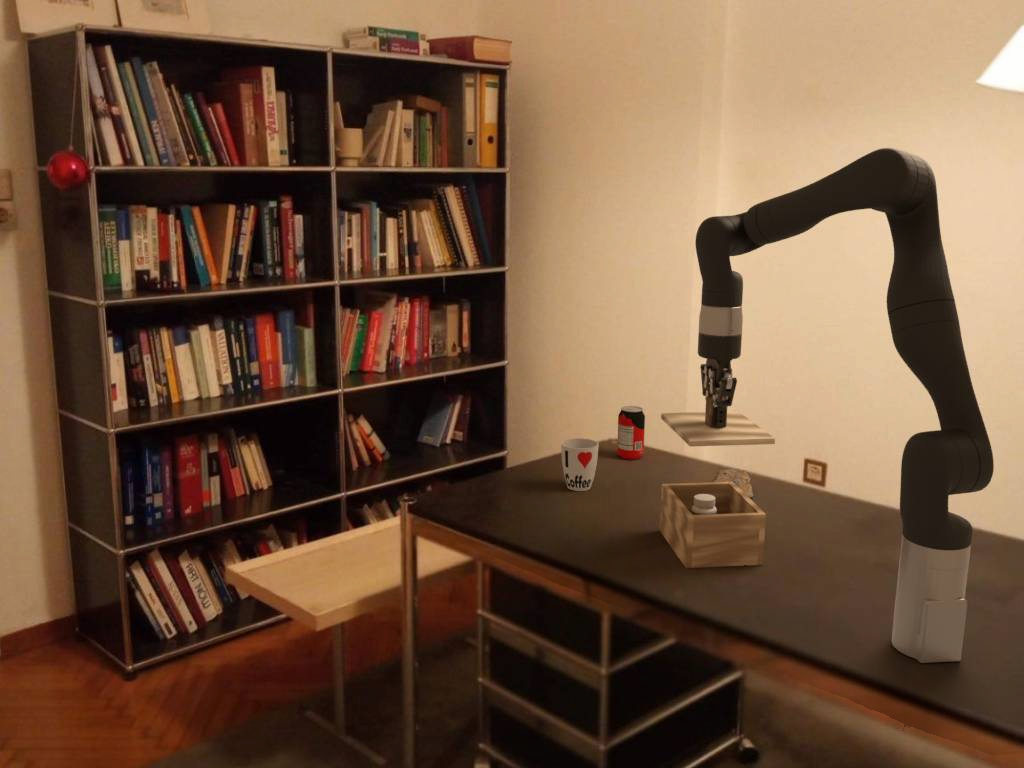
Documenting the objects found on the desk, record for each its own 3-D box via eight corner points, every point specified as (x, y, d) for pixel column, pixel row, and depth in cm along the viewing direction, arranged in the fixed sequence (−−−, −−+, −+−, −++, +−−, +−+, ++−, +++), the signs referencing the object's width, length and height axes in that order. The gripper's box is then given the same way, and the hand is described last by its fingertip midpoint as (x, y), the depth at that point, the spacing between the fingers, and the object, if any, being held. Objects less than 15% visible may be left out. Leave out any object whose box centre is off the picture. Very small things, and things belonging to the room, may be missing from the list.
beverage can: (648, 458, 239) (650, 409, 236) (627, 462, 236) (629, 413, 233) (632, 451, 244) (634, 404, 241) (611, 455, 241) (613, 407, 238)
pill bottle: (715, 544, 186) (717, 502, 184) (689, 542, 187) (691, 500, 185) (715, 535, 191) (717, 493, 189) (690, 533, 191) (692, 492, 190)
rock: (706, 486, 220) (714, 492, 210) (713, 460, 219) (722, 466, 209) (744, 496, 220) (754, 503, 210) (751, 471, 219) (762, 476, 209)
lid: (774, 444, 171) (776, 410, 170) (689, 446, 170) (691, 412, 168) (737, 416, 190) (739, 385, 188) (661, 418, 188) (662, 387, 187)
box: (762, 564, 177) (766, 514, 175) (685, 568, 175) (688, 517, 173) (729, 527, 194) (732, 481, 192) (659, 530, 193) (661, 483, 191)
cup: (556, 491, 215) (557, 446, 213) (565, 479, 223) (566, 436, 220) (593, 495, 213) (594, 450, 211) (601, 483, 220) (602, 439, 218)
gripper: (754, 336, 169) (748, 434, 173) (728, 323, 183) (723, 414, 187) (711, 337, 168) (707, 435, 172) (688, 324, 182) (684, 415, 186)
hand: (715, 424), depth 180 cm, fingers closed on lid, 3 cm apart
